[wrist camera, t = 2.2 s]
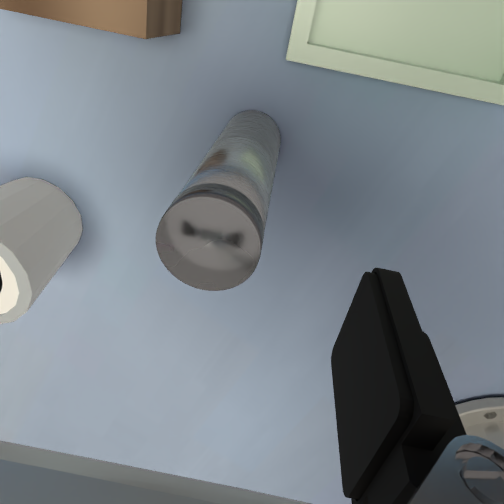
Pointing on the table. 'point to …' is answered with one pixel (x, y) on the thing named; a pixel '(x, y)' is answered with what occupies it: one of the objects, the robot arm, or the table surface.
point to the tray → (407, 42)
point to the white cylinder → (33, 240)
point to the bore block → (108, 14)
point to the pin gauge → (223, 207)
